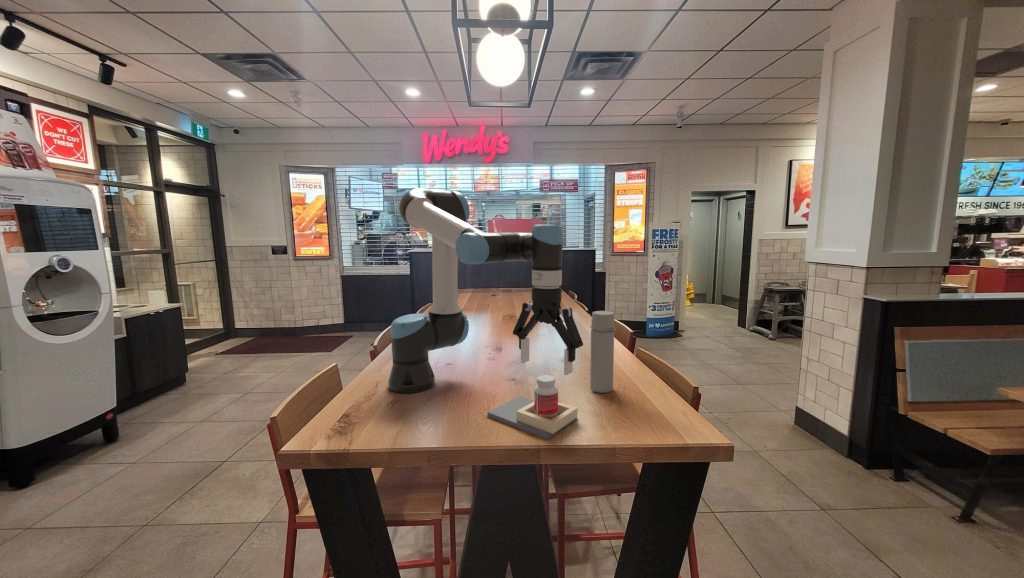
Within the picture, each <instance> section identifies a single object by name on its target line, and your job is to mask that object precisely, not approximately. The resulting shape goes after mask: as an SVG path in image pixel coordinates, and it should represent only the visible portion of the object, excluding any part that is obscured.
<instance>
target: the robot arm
mask: <svg viewBox="0 0 1024 578" xmlns="http://www.w3.org/2000/svg"><path fill="white" fill-rule="evenodd" d="M398 209H399V211H398V212H399V215H400V217H401V218H402V220H403V221H404V222H405V223H406V224H407V225H409V226H410V227H412V228H415V229H422V230H423V231H424V232H427V233H428V234H429V235H431V247H432V248H431V251H432V252H431V253H432V255H431V256H432V258H431V263H432V267H431V268H432V270H431V271H432V305H431V306H430V307H429V308H428V316H427V315H426V314H425V313H421V312H420V313H419V312H418V313H409V314H406V315H405V314H404V315H402V316H398V317H397V318H395V319H393V321H392V322H391V324H390V339H391V355H392V366H391V370H390V375H389V378H388V381H387V382H388V383H387V384H388V389H389V390H390V391H391V392H393V393H398V394H414V393H419V392H423V391H426V390H429V389H430V388H432V387H433V386H435V383H436V376H435V374H434V371H433V368H432V366H431V363H430V360H429V352H430V351H434V350H439V349H443V348H448V347H454V346H456V345H460V344H461V343H463V342H464V341H465V340H466V339H467V337H468V333H469V330H470V329H469V328H470V324H469V320H468V317H467V315H466V314H465V312H463V308H462V307H460V305H459V304H458V302H459V301H458V295H459V294H458V292H459V290H458V286H459V285H458V280H459V279H458V278H459V277H458V276H459V275H458V273H459V272H458V271H459V268H458V267H459V266H458V265H459V263H458V261H460V262H461V263H463V264H466V265H481V264H491V263H505V262H518V261H520V262H530V263H531V285H532V288H531V301H532V302H531V301H527V302H523V303H522V307H521V312H520V314H519V316H518V319H517V321H516V323H515V325H514V329H513V331H512V334H513V335H514V336H517V337H518V348H519V350H520V363H521V364H524V363H527V362H529V361H530V337H528V335H529V334H530V333H531V331H532V330H533V329H534V327H535V326H537V324H538V323H543V324H547V325H551V326H552V327H553V328H554V329H555V331H556V332H557V333H558V335H559V336H560V337H559V338H560V339H561V340H562V342H563V343H564V345H565V347H566V348H564V350H563V351H564V357H563V360H564V362H563V375H564V376H568V375H570V374H572V373H573V362H575V361H576V352H577V351H576V349H579V348H582V347H583V346H584V342H583V340H582V339H583V338H582V337H581V335H580V332H579V330H578V327H577V324H576V321H575V318H574V317H573V315H574V314H573V308H572V307H566V308H562V306H561V302H562V292H563V291H562V290H563V289H562V288H561V286H562V285H563V284H562V283H563V267H562V266H563V263H562V262H563V261H562V260H563V245H564V240H563V239H564V238H563V227H562V226H561V225H560V224H553V223H552V224H543V223H542V224H534V225H533V226H532V228H531V232H519V231H508V232H486V231H483V230H481V229H479V228H477V227H475V226H473V225H471V224H470V223H468V221H469V219H470V213H471V212H470V206H469V202H468V200H467V198H466V197H465V196H464V194H462V193H461V192H459V191H457V190H456V191H455V190H452V189H451V190H450V189H439V188H438V189H437V188H424V187H419V188H418V187H417V188H412V189H411V190H409V191H407V192H406V193H404V195H403V196H402V197H401V199H400V201H399V207H398ZM531 312H533V315H532V316H531V317H530V318H529V316H530V314H531ZM562 318H563V319H562ZM528 319H529V320H528ZM527 321H528V322H527Z"/></svg>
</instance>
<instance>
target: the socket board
mask: <svg viewBox="0 0 1024 578" xmlns="http://www.w3.org/2000/svg"><path fill="white" fill-rule="evenodd" d="M487 417H489V418H491V419H494V420H496V421H499V422H501V423H504V424H506V425H509V426H512V427H514V428H517V429H519V430H522V431H524V432H526V433H529V434H532V435H533V436H537V437H540V438H542V439H545V440H549V439H551V438H552V437H553V436H555V435H556V434H557V433H559V432H560V431H562V430H564V429H565V428H566V427H567V426H569V425H571V424H572V423H573V422H574V421H576V420H577V419H578V407H576V406H573V405H568V404H567V403H564V402H563V403H562V402H560V401H558V416H557V417H555V418H554V419H552V420H549V419H547V418H544V417H541V416H538V415H535V407H534V399H531V398H527V397H525V396H522V395H518V396H517V397H515V398H512V399H510V400H509V401H507V402H504V403H502V404H501V405H499V406H497V407H495V408H493V409H491V410H489V411H487Z"/></svg>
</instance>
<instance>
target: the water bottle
mask: <svg viewBox="0 0 1024 578" xmlns="http://www.w3.org/2000/svg"><path fill="white" fill-rule="evenodd" d="M590 323H591V324H590V325H589V326H590V365H589V367H590V369H589V370H590V372H589V373H590V378H589V381H590V382H589V387H590V390H591V391H593V392H595V393H600V394H607V393H610V392H611V391H612V390H613V389H614V356H615V355H614V353H615V352H614V351H615V350H614V349H615V331H616V330H617V329H616V324H615V314H614V312H613V311H609V310H596V311H592V313H591V322H590Z"/></svg>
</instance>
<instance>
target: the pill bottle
mask: <svg viewBox="0 0 1024 578" xmlns="http://www.w3.org/2000/svg"><path fill="white" fill-rule="evenodd" d="M533 392H534V394H533V395H534V396H533V397H534V398H533V400H534V407H535V415H538V416H541V417H544V418H547V419H549V420H552V419H554V418H555V417H557V416H558V402H559V389H558V387H557V386H556V378H555V376H553V375H546V374H545V375H540V376H537V378H536V385H535V387H534V391H533Z"/></svg>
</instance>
